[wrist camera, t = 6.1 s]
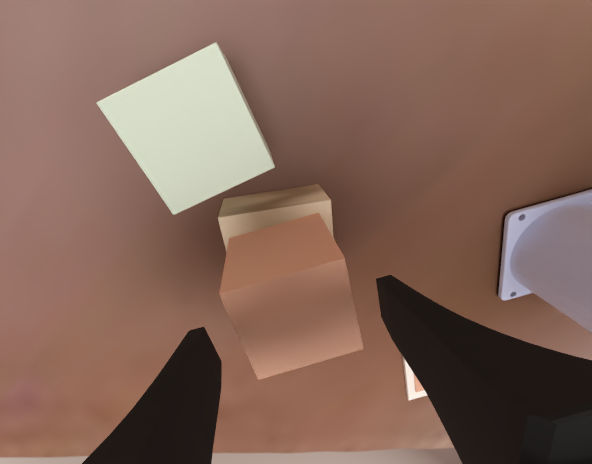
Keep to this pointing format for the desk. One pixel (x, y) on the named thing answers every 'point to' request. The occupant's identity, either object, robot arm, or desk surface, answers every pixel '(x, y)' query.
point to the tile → (412, 383)
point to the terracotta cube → (289, 296)
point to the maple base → (272, 210)
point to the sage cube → (190, 129)
